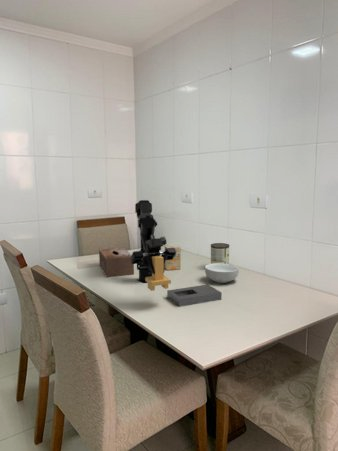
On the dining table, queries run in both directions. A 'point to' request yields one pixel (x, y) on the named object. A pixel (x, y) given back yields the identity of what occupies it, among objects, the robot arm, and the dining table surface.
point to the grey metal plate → (193, 295)
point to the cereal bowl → (221, 272)
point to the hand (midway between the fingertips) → (159, 273)
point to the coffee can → (220, 253)
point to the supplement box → (174, 259)
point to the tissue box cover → (116, 262)
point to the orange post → (158, 274)
